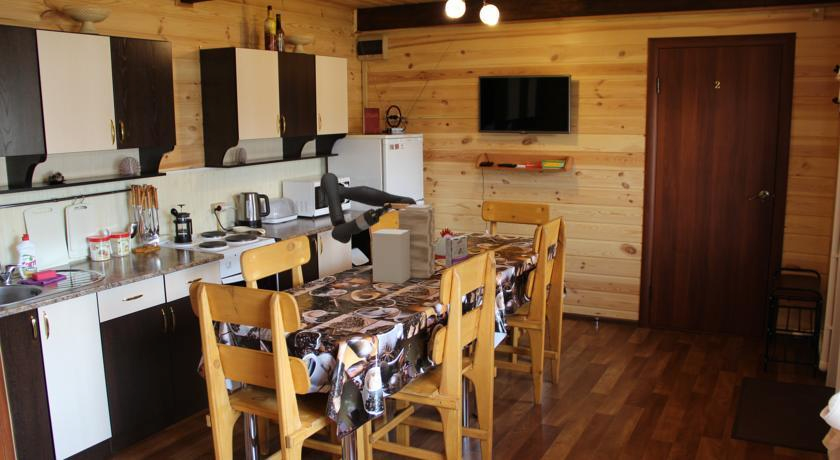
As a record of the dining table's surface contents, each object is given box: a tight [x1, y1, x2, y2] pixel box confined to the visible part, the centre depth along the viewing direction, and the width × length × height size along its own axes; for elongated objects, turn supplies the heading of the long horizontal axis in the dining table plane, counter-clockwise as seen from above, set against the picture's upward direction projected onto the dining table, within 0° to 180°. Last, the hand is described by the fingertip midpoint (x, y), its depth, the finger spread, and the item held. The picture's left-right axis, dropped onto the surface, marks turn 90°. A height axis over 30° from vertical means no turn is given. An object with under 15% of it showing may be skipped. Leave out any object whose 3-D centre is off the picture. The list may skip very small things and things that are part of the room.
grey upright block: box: [371, 228, 411, 285], centre depth 347 cm, size 12×14×23 cm
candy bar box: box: [445, 235, 469, 269], centre depth 367 cm, size 11×5×16 cm, turn 129°
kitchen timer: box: [435, 227, 453, 260], centre depth 401 cm, size 14×14×15 cm
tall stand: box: [398, 207, 436, 279], centre depth 356 cm, size 11×14×32 cm
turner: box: [384, 203, 433, 211], centre depth 354 cm, size 9×22×2 cm, turn 70°
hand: (394, 203), depth 356 cm, fingers open, 7 cm apart
